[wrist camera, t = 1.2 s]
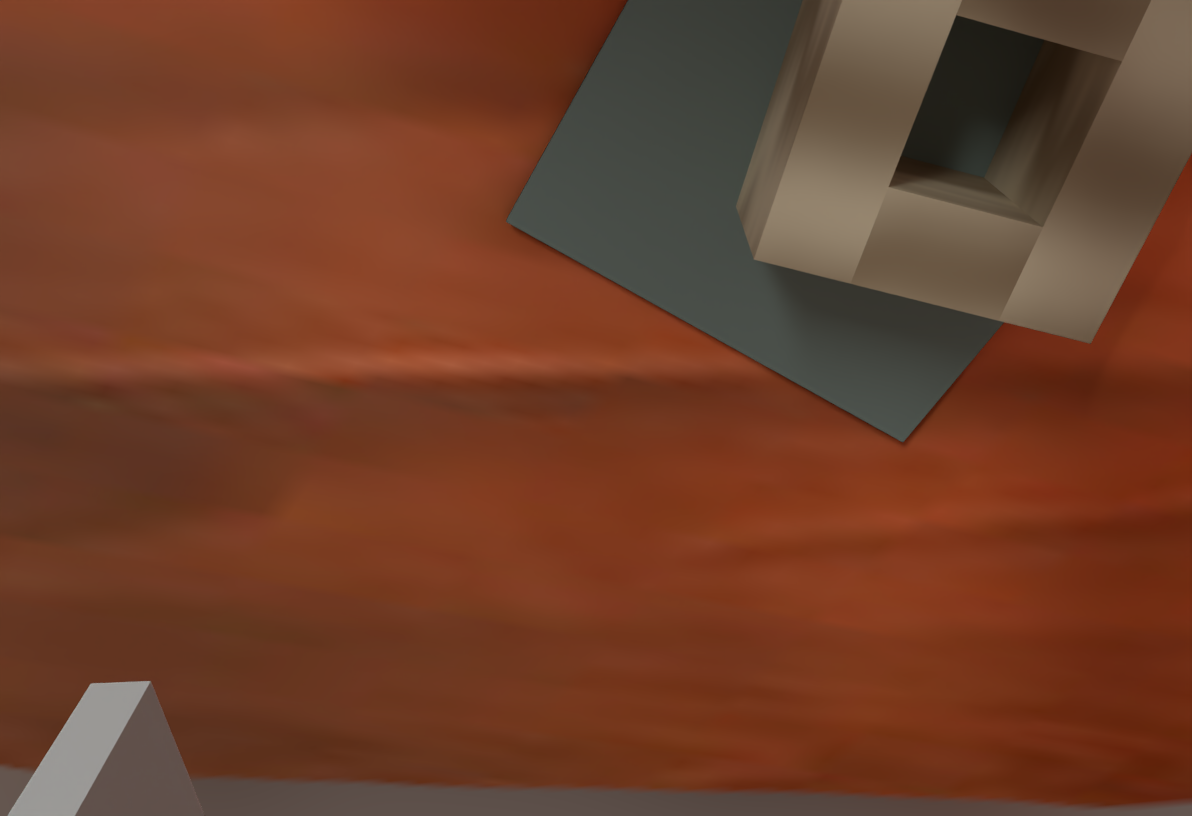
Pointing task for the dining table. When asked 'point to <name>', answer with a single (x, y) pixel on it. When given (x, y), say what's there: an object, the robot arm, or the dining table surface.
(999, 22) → the wooden square socket block
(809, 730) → the dining table surface
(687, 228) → the felt mat
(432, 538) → the dining table surface
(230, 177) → the dining table surface
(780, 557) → the dining table surface
